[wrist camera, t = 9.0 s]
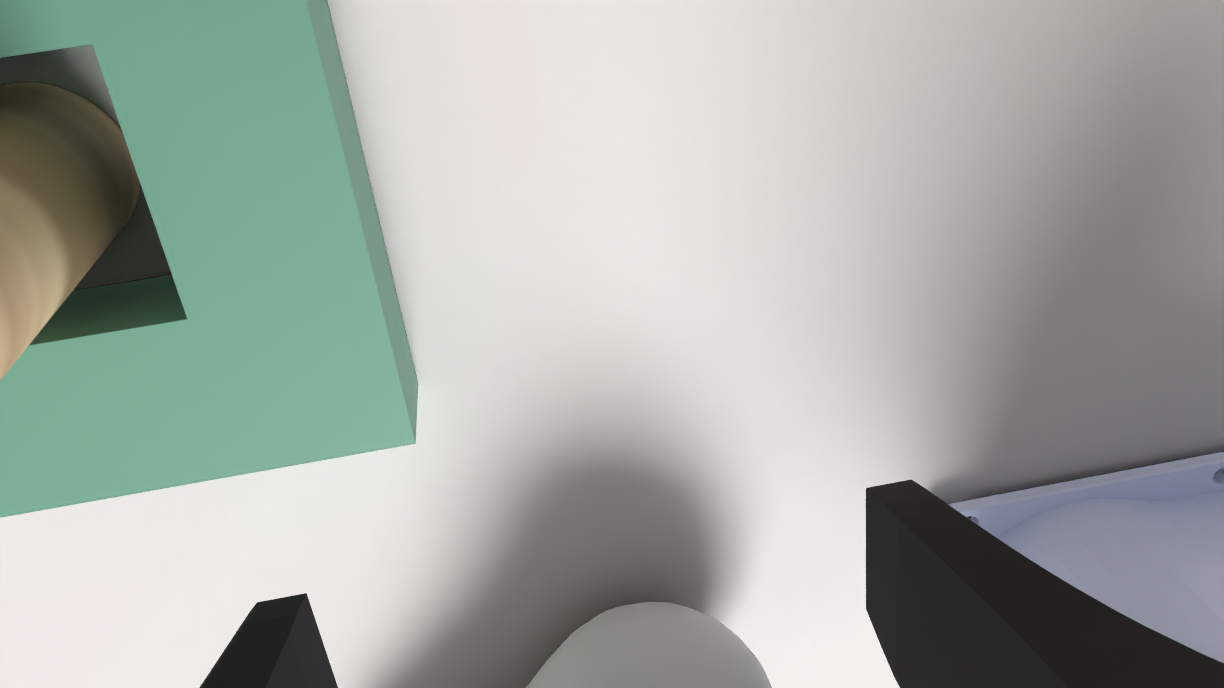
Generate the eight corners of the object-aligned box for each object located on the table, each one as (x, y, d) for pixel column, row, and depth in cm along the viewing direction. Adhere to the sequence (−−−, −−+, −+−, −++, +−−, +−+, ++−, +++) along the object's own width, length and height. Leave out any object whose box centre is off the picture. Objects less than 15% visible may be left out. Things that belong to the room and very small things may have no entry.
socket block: (274, -222, 17) (249, -230, 15) (418, 384, 23) (415, 443, 21) (-475, -127, 16) (-619, -121, 14) (-137, 480, 22) (-201, 553, 20)
